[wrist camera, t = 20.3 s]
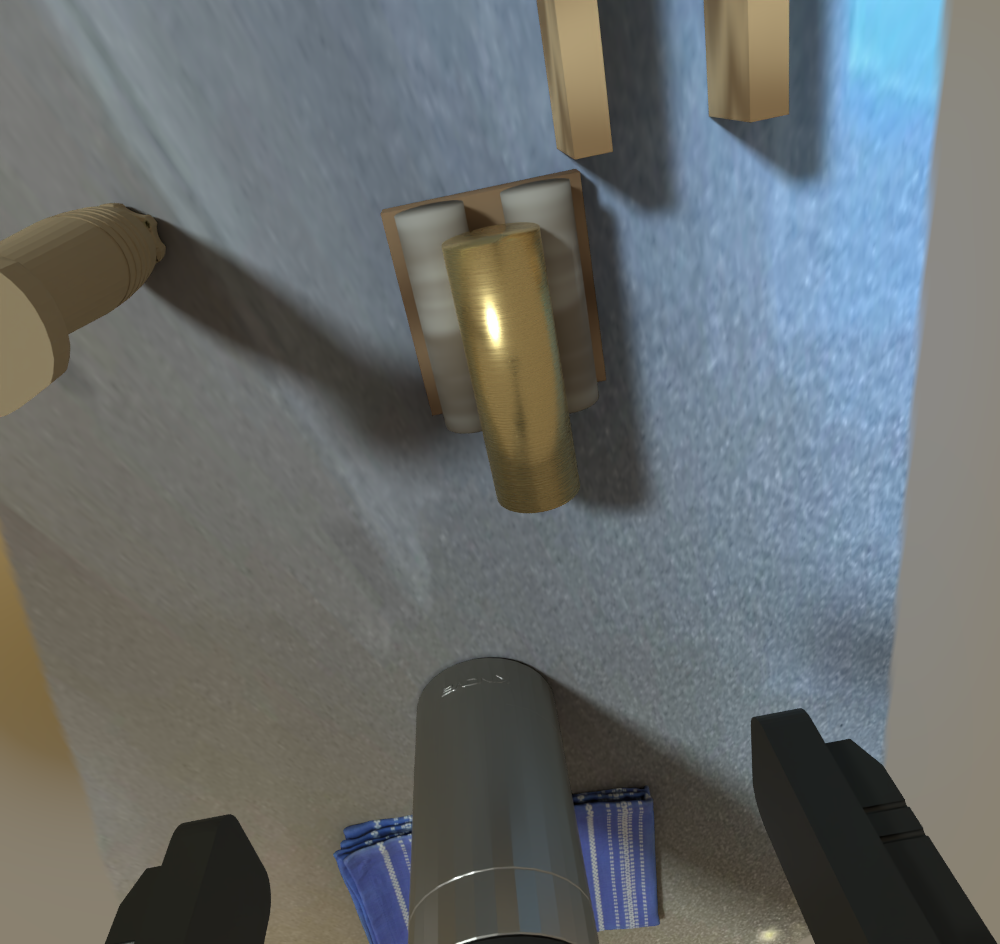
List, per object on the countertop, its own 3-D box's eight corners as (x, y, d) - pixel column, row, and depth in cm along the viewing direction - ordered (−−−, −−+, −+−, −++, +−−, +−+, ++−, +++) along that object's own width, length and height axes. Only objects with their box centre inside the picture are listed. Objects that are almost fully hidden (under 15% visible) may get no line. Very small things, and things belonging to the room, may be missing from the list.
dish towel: (331, 819, 54) (326, 855, 52) (650, 772, 54) (661, 806, 52) (379, 950, 62) (377, 986, 60) (656, 909, 62) (665, 944, 60)
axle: (569, 461, 37) (588, 500, 33) (492, 479, 37) (503, 521, 33) (529, 217, 31) (548, 233, 28) (438, 237, 31) (445, 256, 28)
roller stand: (601, 371, 38) (618, 403, 35) (432, 406, 38) (431, 441, 35) (575, 168, 33) (592, 180, 30) (382, 209, 34) (375, 226, 30)
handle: (217, 280, 35) (80, 405, 21) (83, 301, 35) (-136, 440, 22) (181, 171, 32) (3, 237, 19) (38, 194, 32) (-238, 276, 19)
